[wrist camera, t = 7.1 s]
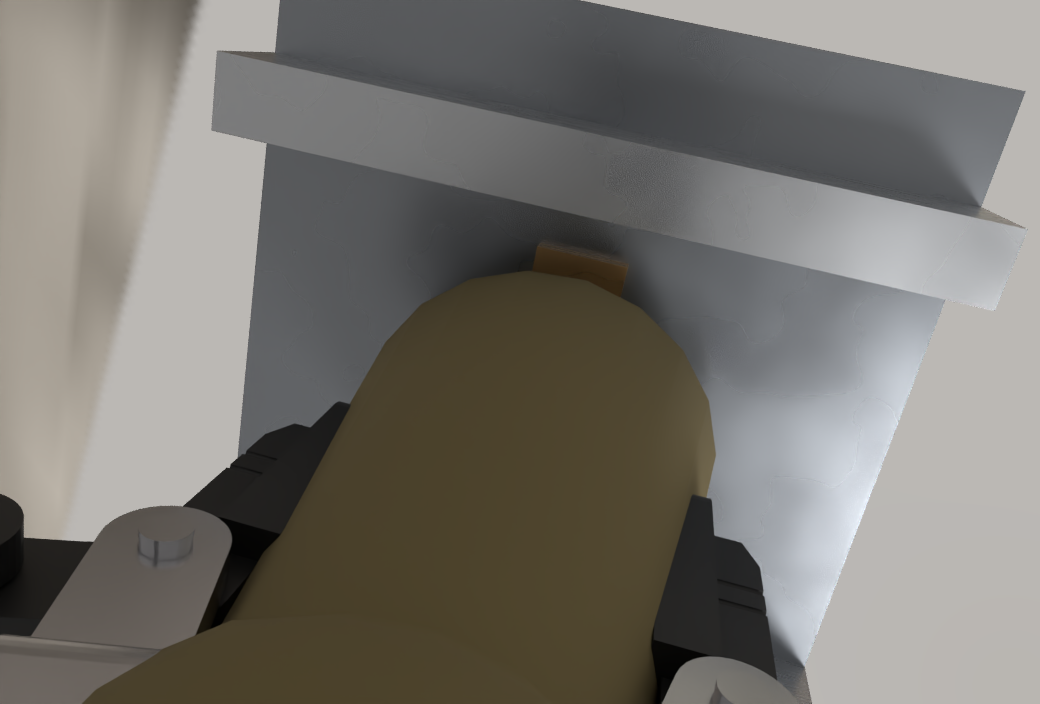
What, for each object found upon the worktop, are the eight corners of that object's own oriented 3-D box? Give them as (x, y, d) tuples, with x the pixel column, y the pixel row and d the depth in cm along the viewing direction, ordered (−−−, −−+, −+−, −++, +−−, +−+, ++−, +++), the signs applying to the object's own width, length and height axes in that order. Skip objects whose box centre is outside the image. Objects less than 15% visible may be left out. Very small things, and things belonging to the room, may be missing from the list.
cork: (434, 629, 16) (-8, 1628, 6) (307, 330, 15) (-582, 954, 4) (759, 563, 14) (946, 1779, 4) (653, 220, 13) (538, 796, 3)
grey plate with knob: (367, -35, 18) (226, -79, 12) (950, 85, 17) (1082, 95, 11) (297, 532, 23) (172, 684, 17) (746, 658, 22) (769, 865, 16)
